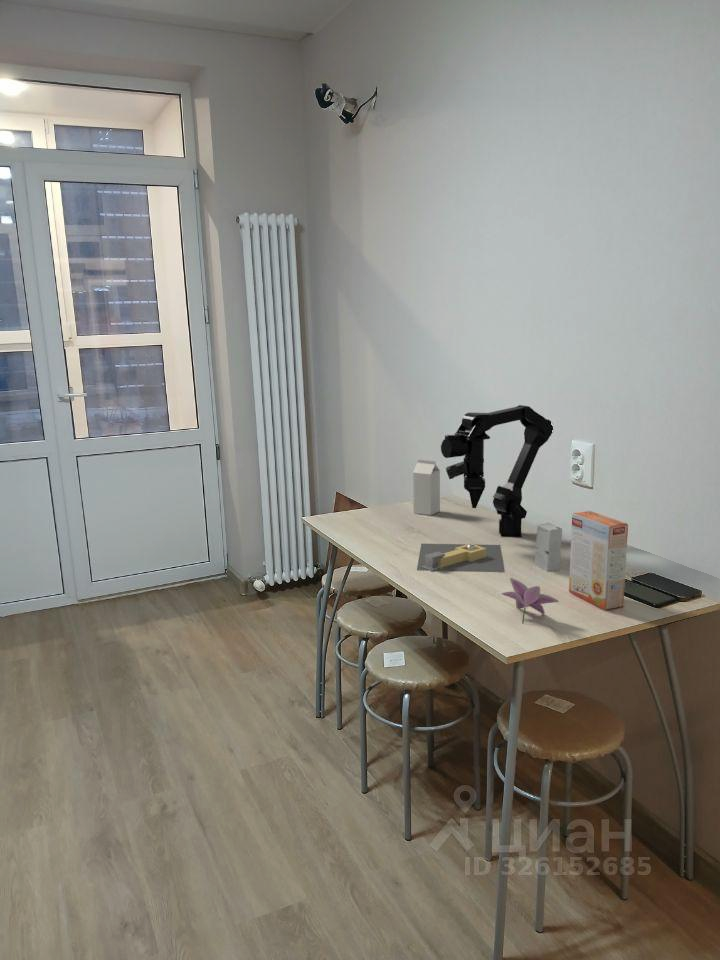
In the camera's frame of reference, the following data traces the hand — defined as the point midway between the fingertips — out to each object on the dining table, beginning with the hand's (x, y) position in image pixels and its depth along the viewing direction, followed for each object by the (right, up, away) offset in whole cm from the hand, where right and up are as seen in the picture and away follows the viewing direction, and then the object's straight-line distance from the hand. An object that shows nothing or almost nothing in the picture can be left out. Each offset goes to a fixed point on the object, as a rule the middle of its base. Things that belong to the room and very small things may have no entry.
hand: (473, 504), depth 232 cm
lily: (+4, -25, -56) cm, 62 cm away
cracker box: (+23, -22, -47) cm, 56 cm away
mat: (-6, -15, -13) cm, 21 cm away
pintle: (-3, -15, -13) cm, 20 cm away
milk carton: (-11, -4, +39) cm, 40 cm away
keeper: (-15, -17, -22) cm, 32 cm away
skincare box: (+17, -17, -23) cm, 33 cm away
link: (-7, -16, -16) cm, 23 cm away
